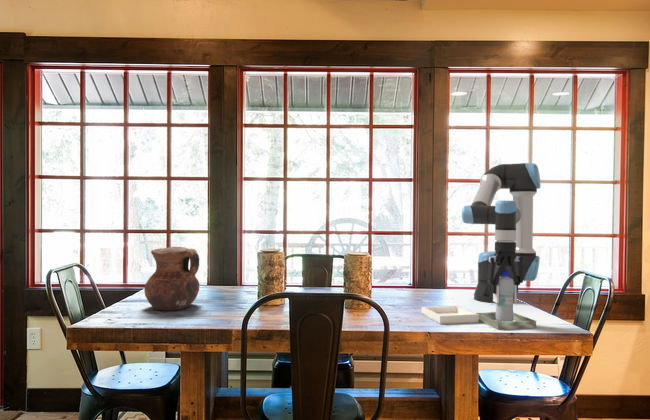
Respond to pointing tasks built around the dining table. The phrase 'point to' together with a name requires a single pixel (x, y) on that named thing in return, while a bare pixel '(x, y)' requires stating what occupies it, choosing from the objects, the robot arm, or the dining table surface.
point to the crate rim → (517, 324)
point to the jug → (173, 278)
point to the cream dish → (450, 314)
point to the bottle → (505, 298)
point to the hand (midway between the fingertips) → (504, 301)
